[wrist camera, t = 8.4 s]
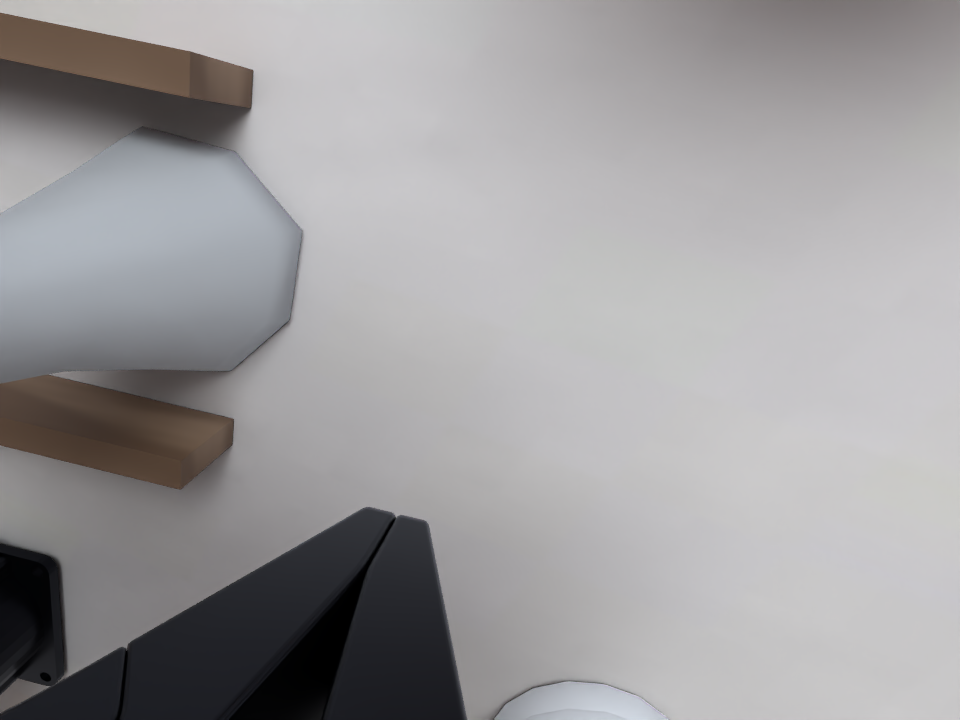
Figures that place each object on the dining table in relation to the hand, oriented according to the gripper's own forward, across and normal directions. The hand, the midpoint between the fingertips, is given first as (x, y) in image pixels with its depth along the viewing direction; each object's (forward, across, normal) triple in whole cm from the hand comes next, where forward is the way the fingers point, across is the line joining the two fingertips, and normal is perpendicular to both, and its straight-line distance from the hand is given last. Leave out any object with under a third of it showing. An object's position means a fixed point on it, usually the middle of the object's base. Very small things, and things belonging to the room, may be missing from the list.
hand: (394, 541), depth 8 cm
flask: (+11, +10, 0) cm, 15 cm away
